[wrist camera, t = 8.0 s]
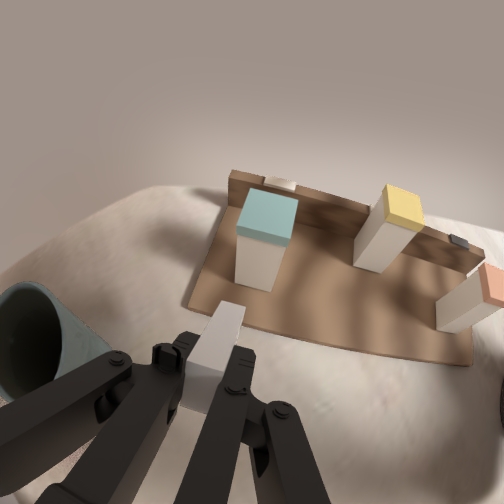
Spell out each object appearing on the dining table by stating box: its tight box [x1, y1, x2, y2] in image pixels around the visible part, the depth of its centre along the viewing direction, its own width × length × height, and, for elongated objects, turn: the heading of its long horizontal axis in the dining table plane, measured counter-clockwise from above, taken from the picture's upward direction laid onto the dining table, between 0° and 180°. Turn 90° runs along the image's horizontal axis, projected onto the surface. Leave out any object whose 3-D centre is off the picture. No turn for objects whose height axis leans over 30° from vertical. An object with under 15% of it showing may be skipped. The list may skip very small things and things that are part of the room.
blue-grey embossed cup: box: [0, 282, 113, 403], centre depth 19 cm, size 10×10×12 cm
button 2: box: [235, 188, 298, 292], centre depth 26 cm, size 4×4×10 cm
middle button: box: [353, 184, 425, 273], centre depth 29 cm, size 4×4×10 cm
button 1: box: [436, 262, 504, 334], centre depth 24 cm, size 4×4×10 cm
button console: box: [187, 170, 485, 366], centre depth 29 cm, size 38×16×6 cm, turn 76°
